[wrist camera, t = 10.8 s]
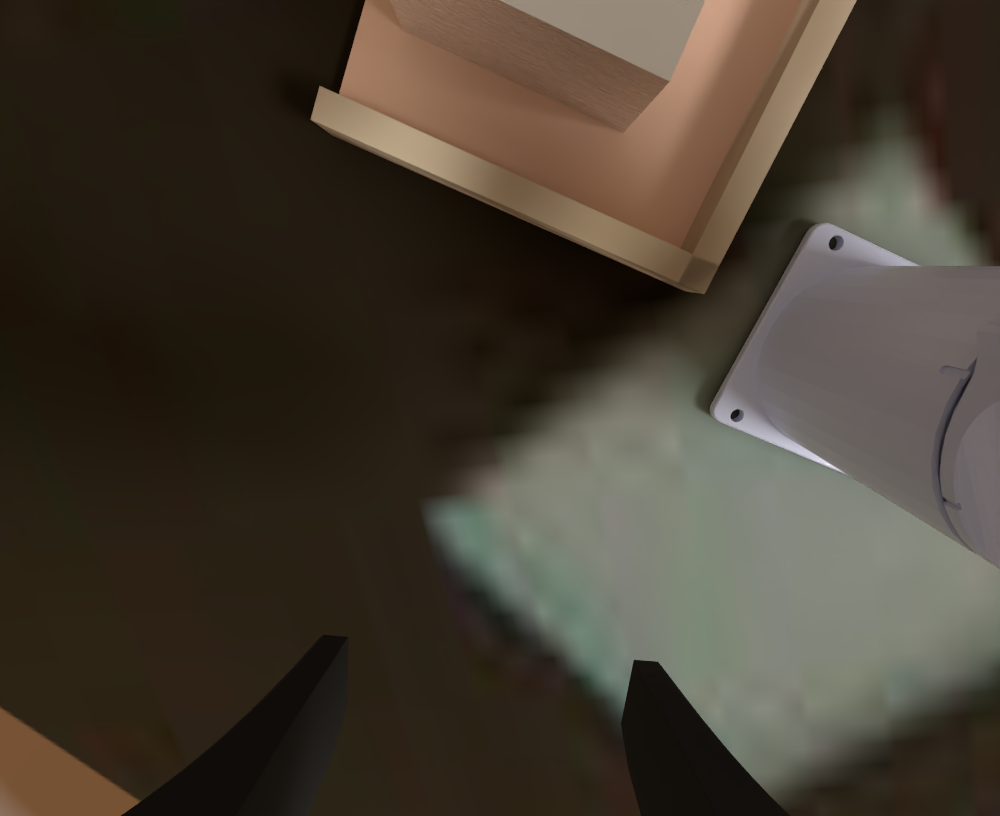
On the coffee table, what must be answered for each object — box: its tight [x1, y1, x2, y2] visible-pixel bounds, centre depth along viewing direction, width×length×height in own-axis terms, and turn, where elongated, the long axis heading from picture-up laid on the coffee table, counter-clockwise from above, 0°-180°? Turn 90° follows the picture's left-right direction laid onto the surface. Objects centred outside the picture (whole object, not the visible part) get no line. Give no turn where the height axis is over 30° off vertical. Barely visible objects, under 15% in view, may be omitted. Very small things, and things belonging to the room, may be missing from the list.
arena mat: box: [332, 0, 802, 281], centre depth 16 cm, size 14×14×1 cm
